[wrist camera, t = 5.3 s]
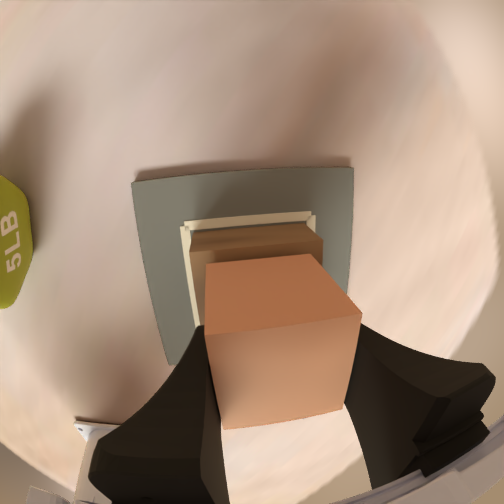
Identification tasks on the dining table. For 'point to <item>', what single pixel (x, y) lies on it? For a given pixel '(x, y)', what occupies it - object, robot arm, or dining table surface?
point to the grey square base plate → (231, 217)
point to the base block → (248, 249)
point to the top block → (278, 339)
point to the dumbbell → (13, 241)
